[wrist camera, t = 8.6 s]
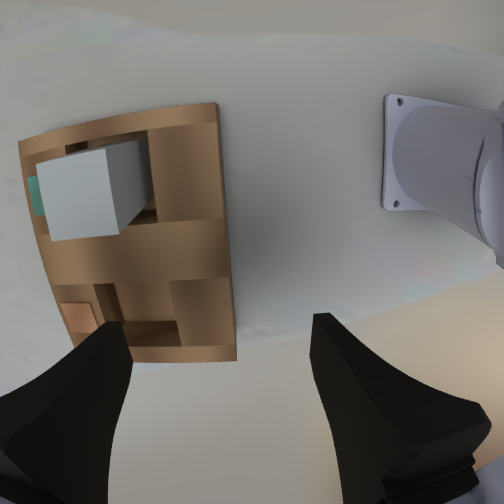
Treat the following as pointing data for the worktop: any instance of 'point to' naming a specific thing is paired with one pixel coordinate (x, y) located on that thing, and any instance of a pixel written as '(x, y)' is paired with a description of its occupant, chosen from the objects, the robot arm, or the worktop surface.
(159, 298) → the port block
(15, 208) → the worktop surface
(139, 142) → the matte gray box
